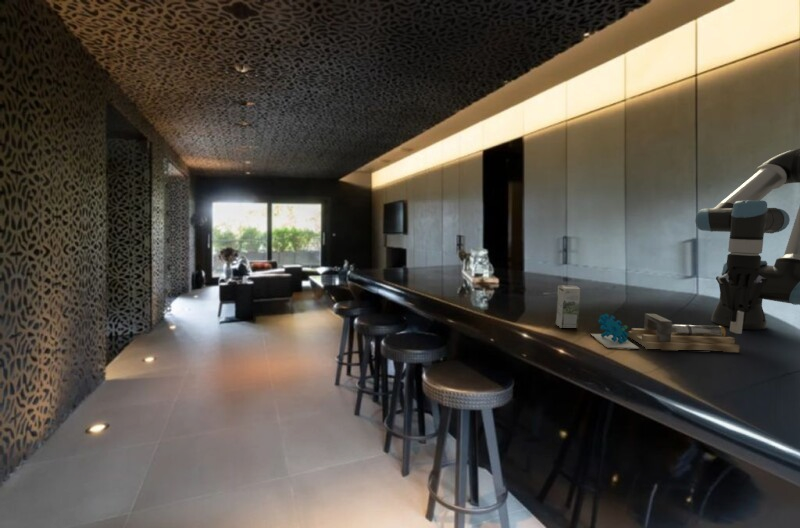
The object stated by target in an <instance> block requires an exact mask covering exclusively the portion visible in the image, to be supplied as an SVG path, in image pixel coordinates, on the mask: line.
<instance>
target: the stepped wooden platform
mask: <svg viewBox="0 0 800 528" xmlns="http://www.w3.org/2000/svg"><path fill="white" fill-rule="evenodd" d="M643 322H644V324H643V328H640V327H639V328H635V327H632V328H631V329H630V330H628V331H627V333H628V336H627V338H628V337H630V338H631V339H630V338H629V339H630V340H632V339H633V340H635V341H636V342H638V343H639V344H641V345H642V346H641V345H640V346H641V347H643V346H644V347H645V348H644V347H643V348H644V349H645V350H647V349H661V350H660V351H678V350H714V351H723V352H722V353H740V347H741V346H740V345H739V344H738V343H737V344H736V343H735V342H736V341H735V340H736V337H732V336H725V337H717V336H682V335H671V329H672V325H673V321H672V320H669V319H667V318H666V317H663V316H661V315H659V314H656V313H644V321H643ZM633 340H632V341H633ZM635 341H634V342H635ZM636 342H635V343H636ZM638 343H637V344H638ZM639 344H638V345H639Z"/></svg>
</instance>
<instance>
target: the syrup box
mask: <svg viewBox="0 0 800 528" xmlns="http://www.w3.org/2000/svg"><path fill="white" fill-rule="evenodd" d="M556 295H557V296H556V313H555V325H556V326H557V327H558V326H559V327H558V328H560V329H561V328H578V327H579V315H580V314H579V313H580V302H581V301H580V300H581V288H580V287H578V286H576V285H558V286H557V294H556ZM578 329H579V328H578Z"/></svg>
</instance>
